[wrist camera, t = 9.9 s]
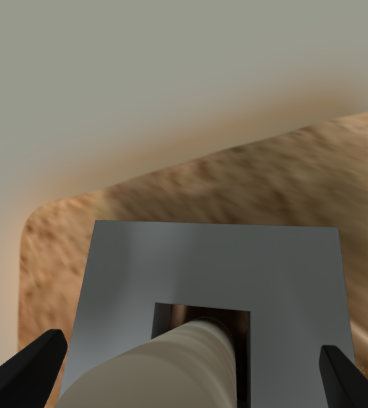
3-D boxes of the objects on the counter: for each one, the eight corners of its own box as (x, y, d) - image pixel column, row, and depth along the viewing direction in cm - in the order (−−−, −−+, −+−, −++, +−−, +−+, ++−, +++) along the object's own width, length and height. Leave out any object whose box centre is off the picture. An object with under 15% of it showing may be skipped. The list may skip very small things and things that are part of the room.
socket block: (342, 528, 12) (387, 623, 9) (82, 465, 15) (33, 518, 12) (315, 243, 17) (338, 227, 13) (121, 234, 20) (95, 220, 16)
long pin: (246, 365, 15) (288, 584, 4) (193, 392, 15) (55, 704, 4) (218, 306, 17) (179, 322, 5) (169, 331, 17) (13, 408, 5)
